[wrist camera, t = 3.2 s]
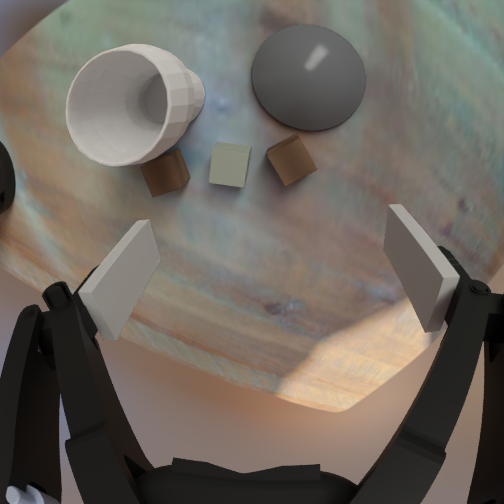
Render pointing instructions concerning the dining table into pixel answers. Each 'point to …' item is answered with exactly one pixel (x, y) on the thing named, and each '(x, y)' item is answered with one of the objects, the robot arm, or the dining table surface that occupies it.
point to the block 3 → (291, 159)
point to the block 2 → (229, 164)
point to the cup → (131, 104)
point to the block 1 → (165, 173)
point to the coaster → (308, 77)
